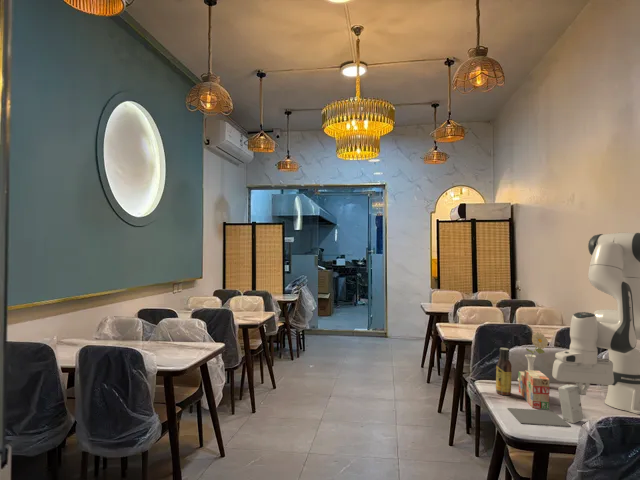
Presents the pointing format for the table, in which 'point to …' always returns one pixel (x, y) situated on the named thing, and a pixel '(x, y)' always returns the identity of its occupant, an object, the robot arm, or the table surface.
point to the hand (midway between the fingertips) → (582, 394)
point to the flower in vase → (540, 343)
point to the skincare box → (570, 403)
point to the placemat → (538, 417)
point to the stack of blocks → (534, 388)
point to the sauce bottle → (503, 373)
